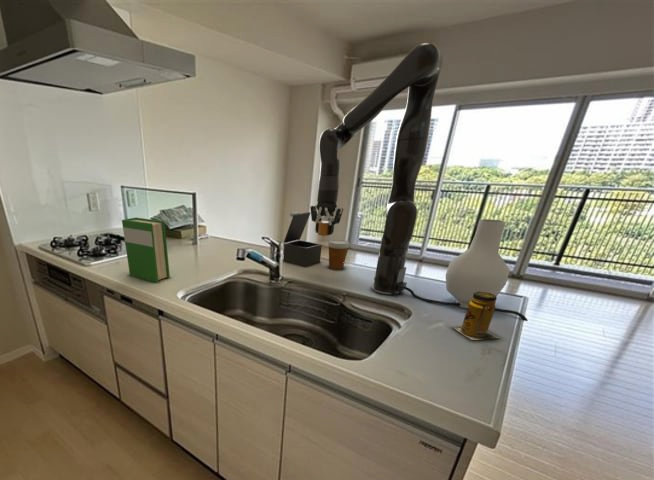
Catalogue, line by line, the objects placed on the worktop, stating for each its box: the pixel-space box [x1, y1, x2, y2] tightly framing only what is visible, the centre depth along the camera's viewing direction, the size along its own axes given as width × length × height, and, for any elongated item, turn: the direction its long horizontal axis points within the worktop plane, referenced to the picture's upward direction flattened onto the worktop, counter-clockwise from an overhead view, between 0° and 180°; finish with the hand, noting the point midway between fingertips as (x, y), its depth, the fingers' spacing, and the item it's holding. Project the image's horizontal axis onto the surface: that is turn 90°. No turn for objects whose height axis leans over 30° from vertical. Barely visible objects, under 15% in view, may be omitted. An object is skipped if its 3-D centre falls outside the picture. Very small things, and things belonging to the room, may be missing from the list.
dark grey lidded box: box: [282, 239, 323, 268], centre depth 163 cm, size 14×12×9 cm
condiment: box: [453, 292, 501, 341], centre depth 94 cm, size 7×8×12 cm
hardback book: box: [121, 217, 171, 284], centre depth 143 cm, size 18×7×24 cm, turn 53°
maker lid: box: [283, 211, 311, 243], centre depth 163 cm, size 14×12×5 cm
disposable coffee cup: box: [327, 239, 351, 270], centre depth 153 cm, size 10×10×12 cm
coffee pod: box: [317, 220, 329, 237], centre depth 134 cm, size 5×5×5 cm
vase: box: [445, 218, 511, 309], centre depth 109 cm, size 17×16×28 cm
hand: (324, 233), depth 135 cm, fingers closed on coffee pod, 5 cm apart
